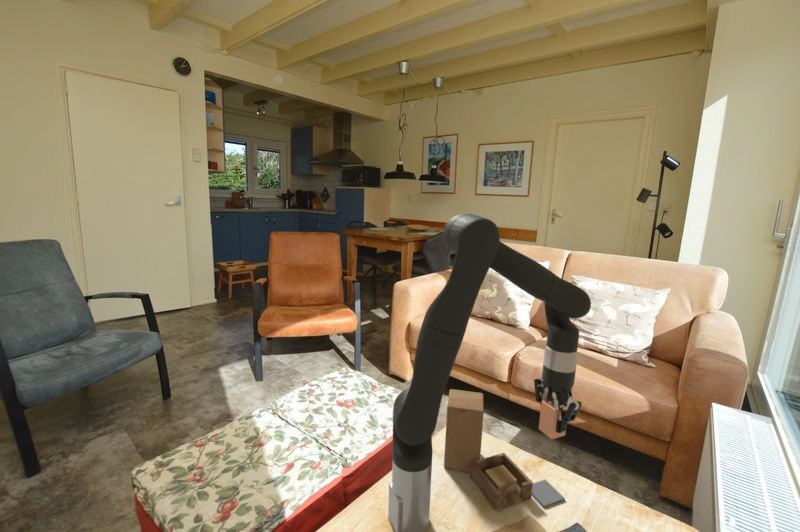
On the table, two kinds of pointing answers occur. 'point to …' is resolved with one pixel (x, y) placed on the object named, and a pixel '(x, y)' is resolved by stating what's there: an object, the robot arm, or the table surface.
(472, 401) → the wooden block
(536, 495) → the pad
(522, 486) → the crate
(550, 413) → the block
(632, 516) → the table surface
